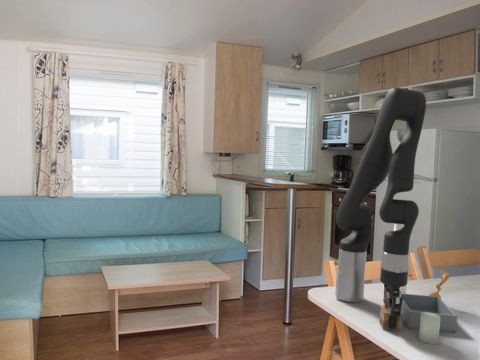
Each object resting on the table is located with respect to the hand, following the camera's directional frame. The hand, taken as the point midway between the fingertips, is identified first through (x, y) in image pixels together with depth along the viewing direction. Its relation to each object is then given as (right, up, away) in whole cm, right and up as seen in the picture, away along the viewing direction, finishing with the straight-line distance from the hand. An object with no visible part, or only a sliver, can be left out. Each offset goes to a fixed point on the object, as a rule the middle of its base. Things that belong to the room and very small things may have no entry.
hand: (390, 323), depth 131 cm
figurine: (+24, -1, +22) cm, 33 cm away
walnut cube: (0, -1, 0) cm, 1 cm away
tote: (+13, -1, +8) cm, 15 cm away
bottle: (+12, +1, +31) cm, 33 cm away
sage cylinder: (+8, -2, -8) cm, 11 cm away
